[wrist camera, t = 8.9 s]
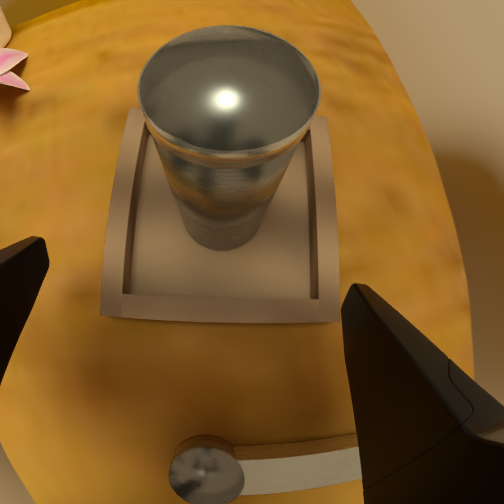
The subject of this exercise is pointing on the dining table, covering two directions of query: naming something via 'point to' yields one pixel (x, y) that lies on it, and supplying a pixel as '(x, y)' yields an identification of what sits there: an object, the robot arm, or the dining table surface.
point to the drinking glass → (4, 30)
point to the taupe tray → (222, 262)
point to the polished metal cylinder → (227, 124)
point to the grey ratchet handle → (260, 467)
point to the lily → (5, 60)
